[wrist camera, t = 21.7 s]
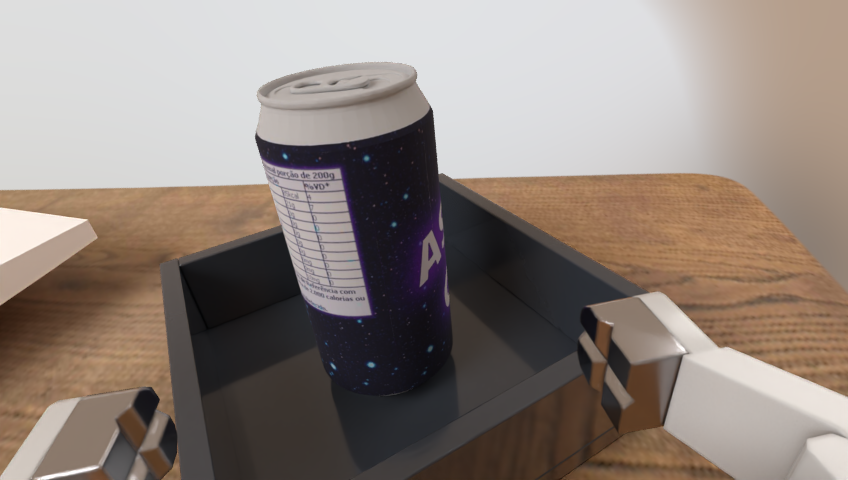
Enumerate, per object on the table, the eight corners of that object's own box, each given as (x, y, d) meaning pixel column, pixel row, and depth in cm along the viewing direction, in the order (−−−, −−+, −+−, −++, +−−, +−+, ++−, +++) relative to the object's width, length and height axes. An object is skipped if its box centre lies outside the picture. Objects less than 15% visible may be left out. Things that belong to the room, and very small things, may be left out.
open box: (448, 243, 30) (442, 172, 27) (659, 410, 18) (685, 311, 15) (197, 342, 24) (159, 263, 21) (261, 687, 12) (193, 605, 9)
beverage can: (456, 408, 18) (427, 92, 11) (313, 414, 18) (209, 113, 12) (452, 312, 22) (430, 53, 16) (339, 318, 23) (275, 68, 17)
